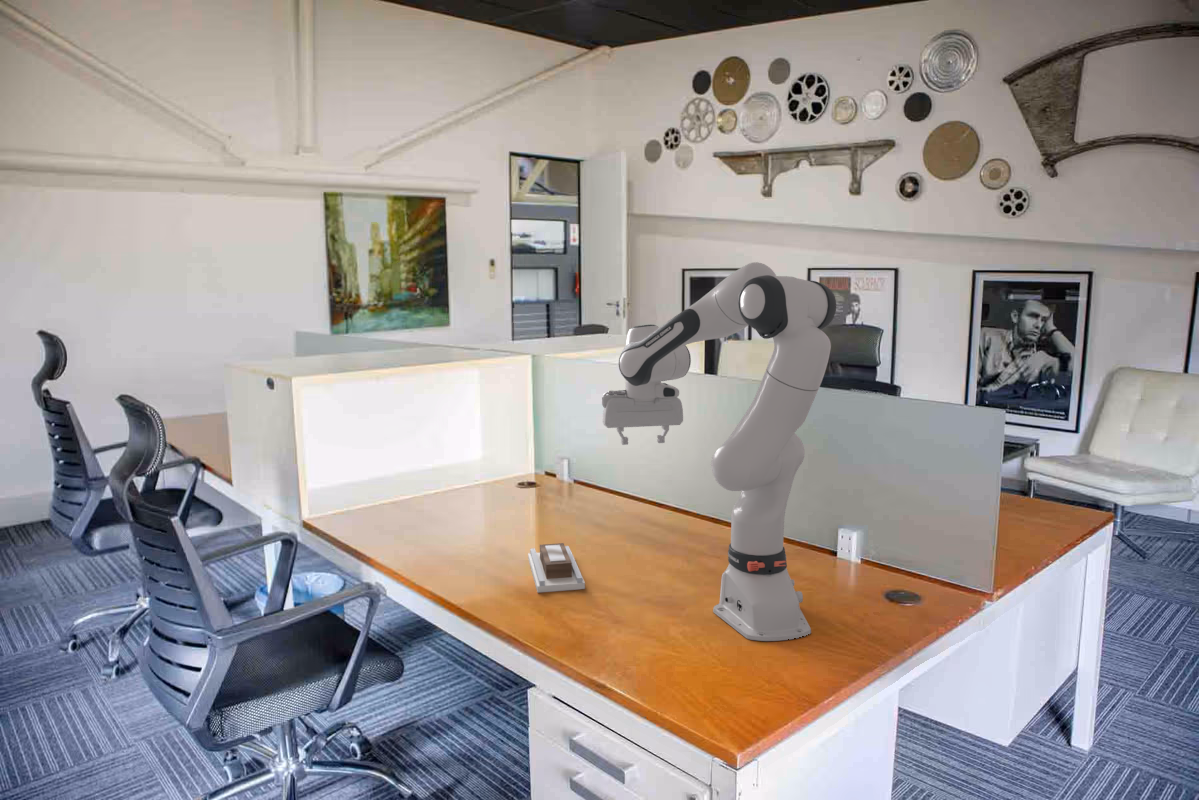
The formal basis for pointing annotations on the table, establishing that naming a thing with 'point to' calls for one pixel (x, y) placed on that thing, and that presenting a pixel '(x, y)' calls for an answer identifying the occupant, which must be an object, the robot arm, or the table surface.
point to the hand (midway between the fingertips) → (642, 443)
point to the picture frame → (555, 561)
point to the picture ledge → (556, 583)
